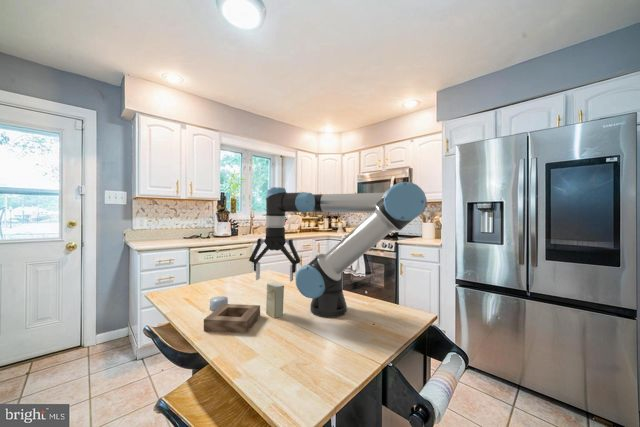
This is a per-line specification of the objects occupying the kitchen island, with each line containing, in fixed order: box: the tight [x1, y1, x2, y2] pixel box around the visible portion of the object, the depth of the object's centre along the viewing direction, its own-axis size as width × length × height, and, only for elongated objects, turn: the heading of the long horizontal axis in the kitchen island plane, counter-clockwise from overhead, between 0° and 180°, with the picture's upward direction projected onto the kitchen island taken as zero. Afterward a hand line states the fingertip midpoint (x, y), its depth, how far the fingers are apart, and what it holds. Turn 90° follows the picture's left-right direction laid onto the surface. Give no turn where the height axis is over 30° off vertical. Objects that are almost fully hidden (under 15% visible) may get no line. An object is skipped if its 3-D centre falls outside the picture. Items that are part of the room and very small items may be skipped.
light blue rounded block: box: [209, 295, 229, 312], centre depth 111 cm, size 7×7×4 cm
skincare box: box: [265, 281, 285, 319], centre depth 105 cm, size 6×4×12 cm
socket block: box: [203, 303, 261, 334], centre depth 97 cm, size 15×15×4 cm
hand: (274, 280), depth 105 cm, fingers open, 13 cm apart
